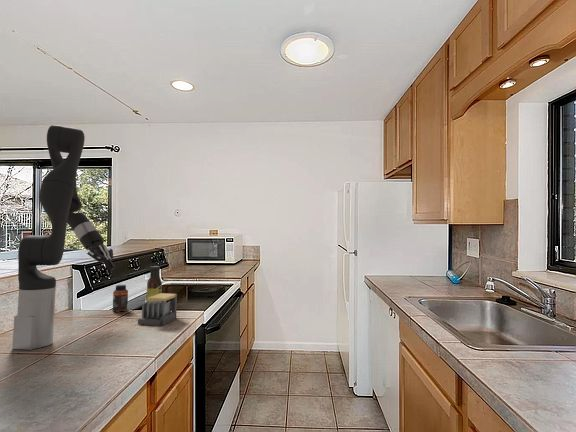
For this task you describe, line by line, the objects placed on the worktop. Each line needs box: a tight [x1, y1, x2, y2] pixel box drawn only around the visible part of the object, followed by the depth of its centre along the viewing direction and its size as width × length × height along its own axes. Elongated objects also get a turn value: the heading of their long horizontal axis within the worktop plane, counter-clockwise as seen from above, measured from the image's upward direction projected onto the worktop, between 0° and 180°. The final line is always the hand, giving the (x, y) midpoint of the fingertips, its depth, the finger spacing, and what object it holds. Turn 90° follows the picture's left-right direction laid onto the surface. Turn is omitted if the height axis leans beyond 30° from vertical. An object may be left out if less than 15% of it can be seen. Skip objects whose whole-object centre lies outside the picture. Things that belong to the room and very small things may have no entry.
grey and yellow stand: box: [137, 292, 178, 327], centre depth 136 cm, size 11×10×10 cm
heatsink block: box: [141, 300, 172, 319], centre depth 136 cm, size 6×9×8 cm, turn 84°
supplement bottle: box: [112, 284, 129, 312], centre depth 153 cm, size 6×6×11 cm
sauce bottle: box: [145, 265, 163, 303], centre depth 152 cm, size 6×6×20 cm
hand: (112, 268), depth 137 cm, fingers closed
